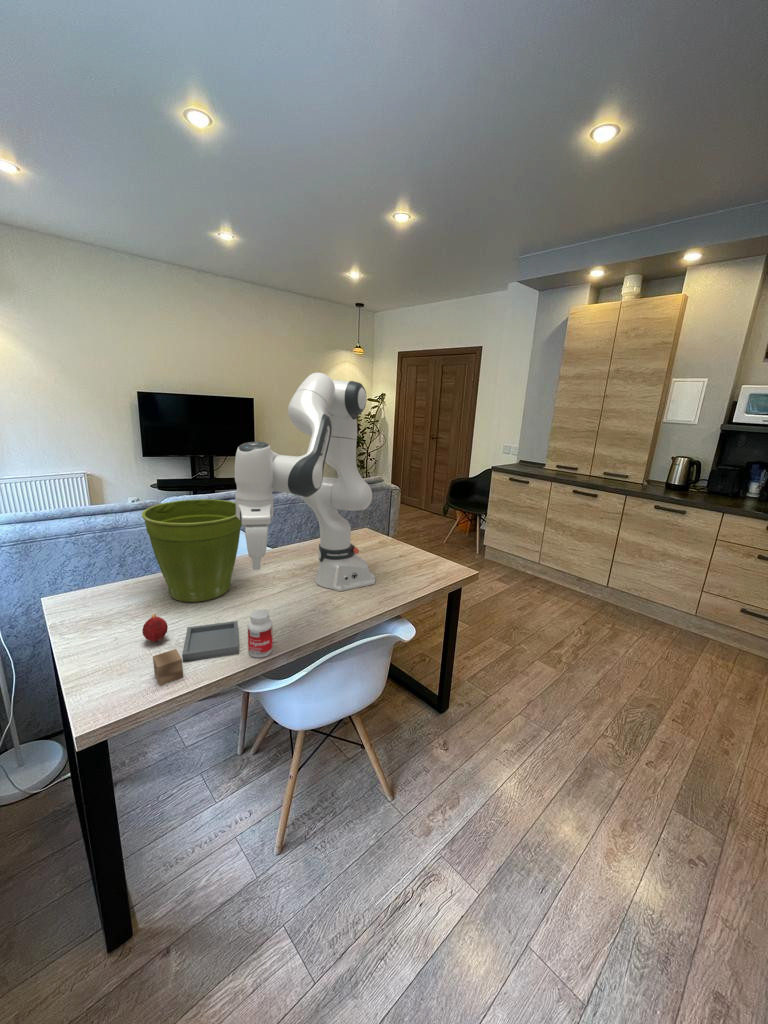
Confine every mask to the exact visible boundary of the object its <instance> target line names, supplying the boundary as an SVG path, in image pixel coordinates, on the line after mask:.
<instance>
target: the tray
mask: <svg viewBox="0 0 768 1024" xmlns="http://www.w3.org/2000/svg"><path fill="white" fill-rule="evenodd" d="M238 624H239V622H238V620H234V621H226V622H220V623H219V622H218V623H210V624H202V625H195V626H188V627H186V634H185V638H184V642H183V643H184V644H183V648H182V649H183V650H182V655H181V658H182V663H189V662H195V661H201V660H206V659H212V658H213V659H214V658H220V657H226V656H233V655H238V654H239V625H238Z"/></svg>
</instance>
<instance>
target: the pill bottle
mask: <svg viewBox="0 0 768 1024" xmlns="http://www.w3.org/2000/svg"><path fill="white" fill-rule="evenodd" d="M273 627H274V626H273V621H272V619H270V612H269V611H268V609H257V610H253V611H252V612H251V613H250V615H249V622H248V623H247V646H248V650H247V651H248V655H249V656H251V657H253V658H258V659H260V658H265V657H268V656H269V655H271V654H272V651H273V650H274V648H273V647H274V643H273V642H274V641H273V639H274V637H273V635H274V634H273V632H274V631H273V630H274V629H273Z"/></svg>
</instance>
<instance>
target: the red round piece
mask: <svg viewBox="0 0 768 1024" xmlns="http://www.w3.org/2000/svg"><path fill="white" fill-rule="evenodd" d="M168 629H169V628H168V623H167V621H166V620H165V619H164V618H162V617H160V616H157V614H156V613H153V614H151V616H150V618H149V619H147V621H145V623H143V626H142V629H141V630H142V636H143V637H144V638H145V639H146V640H147V641H149V642H153V643H157V642H159V641H160V640H162V639H163V638H164V637H165V635H166V634H167V633H168Z"/></svg>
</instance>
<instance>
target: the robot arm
mask: <svg viewBox="0 0 768 1024" xmlns="http://www.w3.org/2000/svg"><path fill="white" fill-rule="evenodd" d="M366 405H367V390H366V389H365V387H364V385H363V384H362V383H361V382H357V381H354V380H350V381H348V380H340V379H339V380H338V379H332V378H331V377H330V376H328V375H327V374H326V373H323V372H313V373H310V374H309V375H308V376H307V377H306V378H305V379H304V380H303V381H302V383H301V384H300V385H299V386H298V388H297V389H296V391H295V392H294V394H293V396H292V398H291V399H290V400H289V404H288V408H287V413H288V417H289V419H290V421H291V423H292V425H293V426H294V427H295V428H296V429H298V431H300V432H301V433H303V434H305V435H308V436H310V440H309V444H308V448H307V451H306V453H304V454H303V455H300V456H294V455H286V454H285V455H284V454H278V453H277V452H275V451H273V450H272V449H271V445H270V443H268V442H264V441H250V442H249V441H248V442H247V441H246V442H244V443H242V444H240V445H239V446H237V449H236V452H235V458H234V459H235V460H234V482H235V484H236V492H235V496H234V497H235V498H234V499H235V504H236V517H237V518H239V520H240V521H241V523H242V526H243V529H244V534H245V543H246V550H247V553H248V557H249V558H251V560H252V561H251V562H252V563H251V564H252V570H253V571H259V570H261V563H262V562H261V561H262V558H264V557H265V556H266V553H267V546H268V545H267V544H268V536H269V535H268V534H269V525H271V524H272V518H273V517H274V494H273V492H277V493H284V494H290V495H291V494H292V495H296V496H299V497H301V498H302V500H303V501H304V503H305V504H306V505H308V506H309V507H310V508H311V509H312V511H313V512H314V514H315V516H316V519H317V521H318V524H319V525H318V526H319V544H318V553H317V554H318V560H319V561H318V567H317V573H316V577H315V580H314V582H315V583H316V584H317V585H318V586H319V587H322V588H327V589H332V590H334V591H338V592H343V591H347V590H348V591H349V590H353V589H358V588H361V587H366V586H370V585H375V583H376V577H375V575H374V573H373V572H372V571H370V568H369V564H368V563H367V561H366V560H365V559H364V558H362V557H361V556H359V553H360V550H359V548H358V547H357V546H356V545H354V544H353V543H351V535H352V527H351V524H350V523H349V521H348V520H347V519H346V518H344V517H343V516H341V515H340V514H339V512H338V510H342V511H351V512H356V511H357V512H359V511H365V510H366V509H368V508H369V506H370V504H371V503H372V500H373V491H372V488H371V486H370V485H369V483H367V482H366V481H365V479H363V477H362V475H361V474H360V472H359V470H358V466H357V460H356V459H357V441H358V440H357V439H358V421H357V418H358V417H359V416H360V415H361V414H362V413H363V411H364V410H365V409H366ZM325 463H327V465H328V466H329V467H331V468H333V469H334V470H335V471H336V473H337V477H329V476H324V467H325Z"/></svg>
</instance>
